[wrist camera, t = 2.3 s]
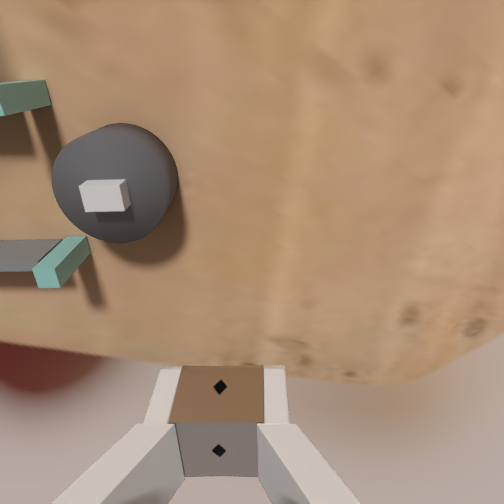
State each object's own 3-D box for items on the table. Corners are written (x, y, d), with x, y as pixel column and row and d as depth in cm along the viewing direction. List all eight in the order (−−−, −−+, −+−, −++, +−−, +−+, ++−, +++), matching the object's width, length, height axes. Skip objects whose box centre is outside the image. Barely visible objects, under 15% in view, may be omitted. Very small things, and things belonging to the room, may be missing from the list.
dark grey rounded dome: (171, 121, 25) (151, 136, 20) (183, 218, 28) (168, 250, 23) (68, 124, 25) (25, 139, 20) (92, 220, 28) (59, 252, 23)
